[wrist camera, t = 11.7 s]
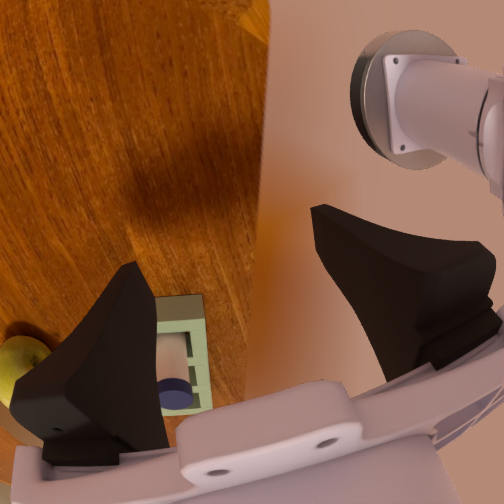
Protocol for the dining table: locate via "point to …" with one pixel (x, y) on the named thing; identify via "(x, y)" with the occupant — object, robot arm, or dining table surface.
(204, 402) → the tube rack
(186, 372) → the test tube
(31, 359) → the apple
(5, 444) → the dining table surface
